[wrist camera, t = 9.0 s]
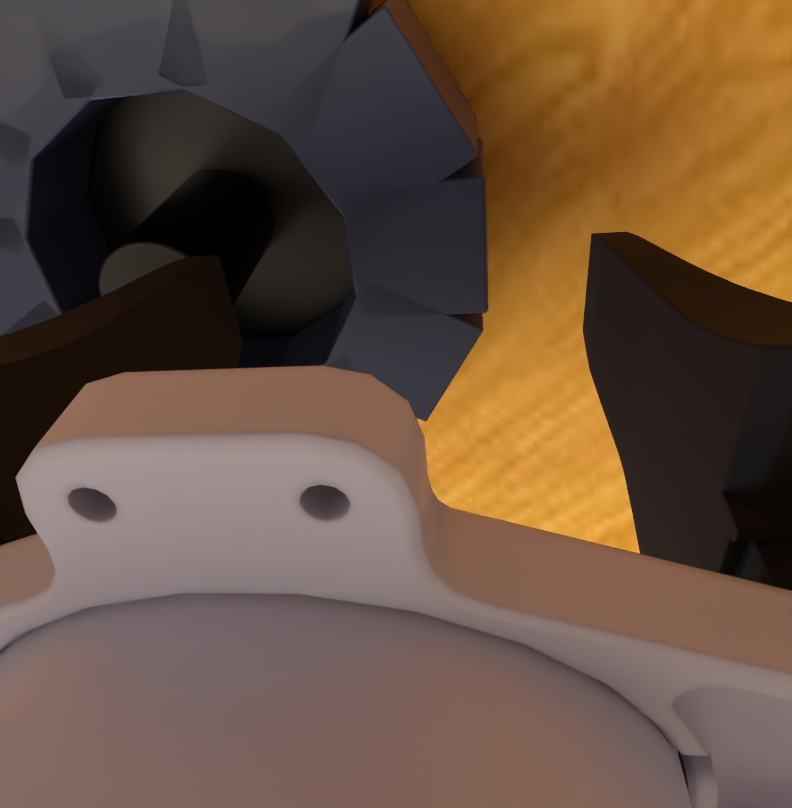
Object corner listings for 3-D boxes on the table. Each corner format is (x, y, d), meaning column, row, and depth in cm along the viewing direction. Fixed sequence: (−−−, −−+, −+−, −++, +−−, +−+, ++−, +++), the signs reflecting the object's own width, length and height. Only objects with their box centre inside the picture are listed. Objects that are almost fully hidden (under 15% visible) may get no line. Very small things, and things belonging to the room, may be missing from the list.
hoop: (230, 472, 23) (203, 538, 20) (-129, 153, 17) (-228, 193, 14) (577, 282, 17) (595, 341, 15) (229, -293, 11) (166, -348, 9)
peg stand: (234, 385, 22) (174, 508, 17) (6, 158, 18) (-152, 243, 13) (460, 247, 18) (460, 357, 14) (241, -80, 14) (135, -77, 9)
